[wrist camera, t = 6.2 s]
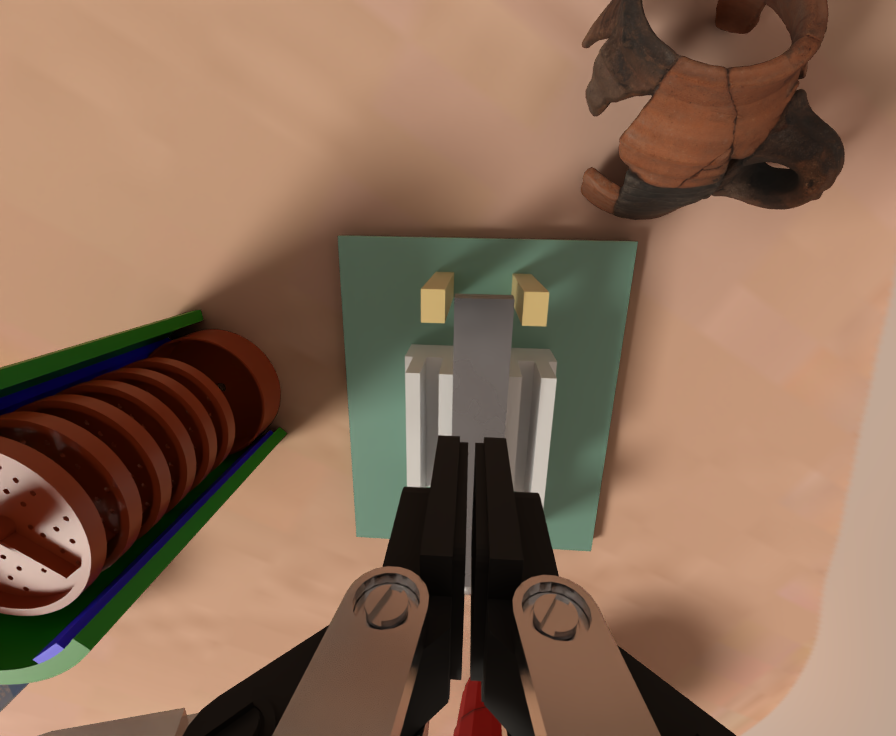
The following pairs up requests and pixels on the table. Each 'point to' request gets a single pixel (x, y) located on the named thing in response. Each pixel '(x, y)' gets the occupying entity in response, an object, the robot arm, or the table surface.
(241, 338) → the motor
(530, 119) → the table surface
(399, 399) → the board
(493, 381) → the strap
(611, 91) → the pottery mug
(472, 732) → the plastic cup
